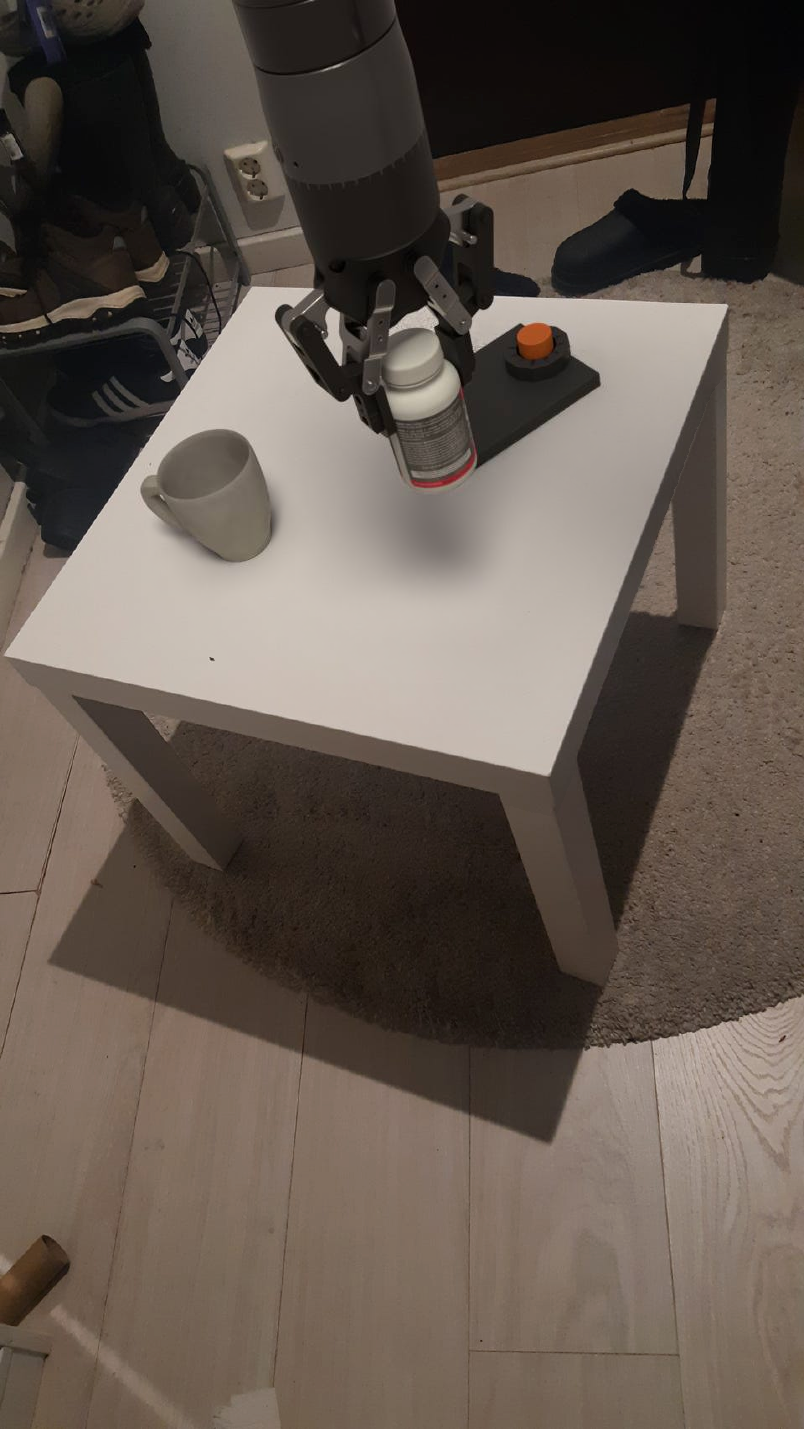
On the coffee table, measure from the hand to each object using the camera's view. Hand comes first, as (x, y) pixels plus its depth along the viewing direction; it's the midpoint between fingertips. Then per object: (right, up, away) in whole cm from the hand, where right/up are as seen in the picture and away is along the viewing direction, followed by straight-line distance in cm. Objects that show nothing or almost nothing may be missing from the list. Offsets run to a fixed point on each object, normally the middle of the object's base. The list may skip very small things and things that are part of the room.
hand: (422, 403), depth 63 cm
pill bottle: (+1, -3, +5) cm, 6 cm away
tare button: (+11, +15, +30) cm, 35 cm away
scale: (+8, +10, +31) cm, 34 cm away
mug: (-17, -4, +30) cm, 35 cm away
